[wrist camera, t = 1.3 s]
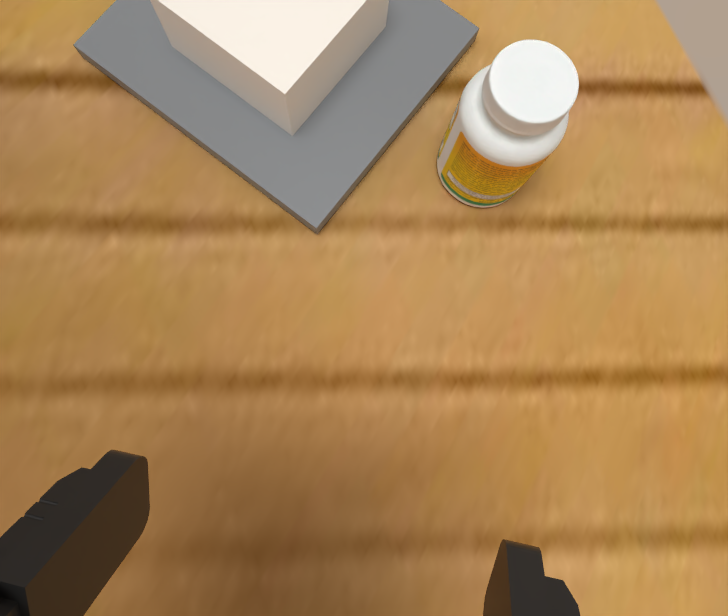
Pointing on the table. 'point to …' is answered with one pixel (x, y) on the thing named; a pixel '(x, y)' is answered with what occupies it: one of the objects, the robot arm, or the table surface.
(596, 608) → the table surface
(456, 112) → the supplement bottle
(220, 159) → the base board
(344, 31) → the plinth
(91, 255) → the table surface
